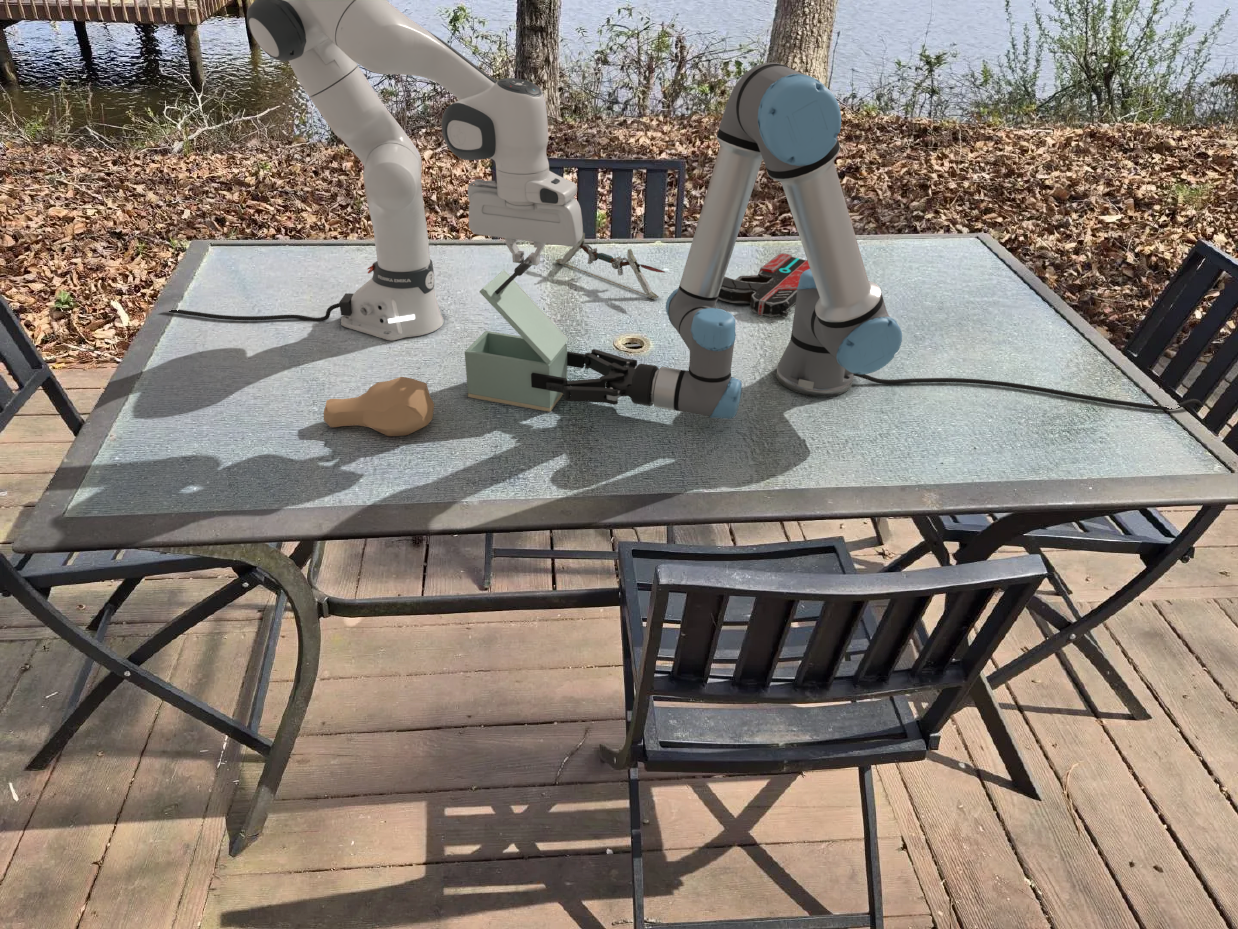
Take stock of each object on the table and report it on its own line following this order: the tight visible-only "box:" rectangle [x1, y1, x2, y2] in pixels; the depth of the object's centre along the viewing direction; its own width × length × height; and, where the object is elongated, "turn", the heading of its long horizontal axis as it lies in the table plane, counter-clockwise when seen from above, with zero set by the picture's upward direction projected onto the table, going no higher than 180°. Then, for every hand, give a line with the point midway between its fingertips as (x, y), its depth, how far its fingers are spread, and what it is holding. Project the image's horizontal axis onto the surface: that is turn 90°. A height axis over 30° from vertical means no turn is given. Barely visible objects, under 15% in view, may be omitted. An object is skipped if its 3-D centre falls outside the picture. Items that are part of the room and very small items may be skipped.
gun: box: [717, 252, 810, 318], centre depth 215 cm, size 4×31×19 cm
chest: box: [464, 330, 568, 413], centre depth 168 cm, size 17×10×10 cm, turn 73°
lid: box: [479, 256, 570, 364], centre depth 159 cm, size 18×10×8 cm
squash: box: [323, 376, 435, 437], centre depth 157 cm, size 11×20×9 cm, turn 90°
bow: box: [555, 232, 666, 300], centre depth 217 cm, size 39×2×10 cm, turn 47°
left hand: (526, 263), depth 155 cm, fingers closed
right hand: (542, 367), depth 166 cm, fingers closed on chest, 10 cm apart
